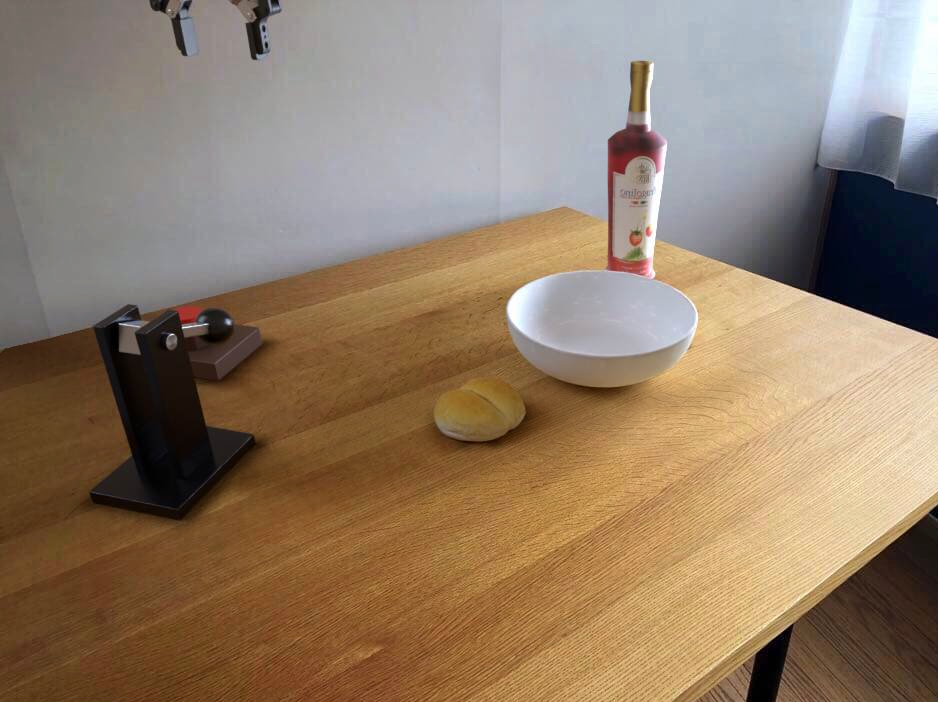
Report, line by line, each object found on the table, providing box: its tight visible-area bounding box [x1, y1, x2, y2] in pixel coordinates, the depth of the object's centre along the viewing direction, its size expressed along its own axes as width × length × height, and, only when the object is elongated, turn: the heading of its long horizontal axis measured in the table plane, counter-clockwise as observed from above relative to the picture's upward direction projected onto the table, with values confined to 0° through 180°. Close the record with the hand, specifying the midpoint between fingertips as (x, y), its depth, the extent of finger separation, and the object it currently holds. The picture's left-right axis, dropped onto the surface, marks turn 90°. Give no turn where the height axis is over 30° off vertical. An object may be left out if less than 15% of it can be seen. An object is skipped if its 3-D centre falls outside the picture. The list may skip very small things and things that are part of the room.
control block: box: [185, 323, 263, 382], centre depth 98 cm, size 12×9×4 cm
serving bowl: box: [505, 269, 699, 388], centre depth 95 cm, size 21×21×7 cm
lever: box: [119, 306, 235, 355], centre depth 77 cm, size 13×4×4 cm, turn 164°
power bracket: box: [88, 303, 257, 521], centre depth 75 cm, size 12×9×16 cm
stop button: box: [173, 305, 203, 325], centre depth 96 cm, size 4×4×2 cm
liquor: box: [603, 60, 668, 279], centre depth 109 cm, size 7×7×28 cm
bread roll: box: [433, 376, 527, 442], centre depth 86 cm, size 8×9×4 cm
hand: (224, 57), depth 93 cm, fingers open, 8 cm apart
